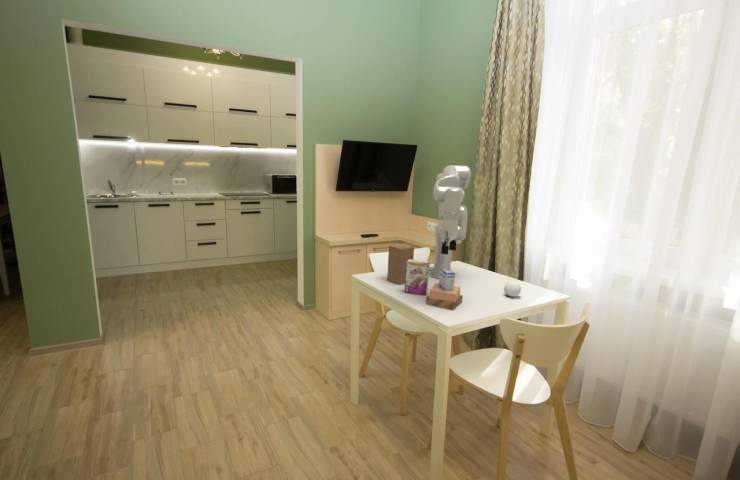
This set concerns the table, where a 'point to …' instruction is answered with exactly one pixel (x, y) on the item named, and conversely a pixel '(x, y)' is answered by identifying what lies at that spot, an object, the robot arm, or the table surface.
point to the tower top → (444, 293)
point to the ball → (512, 288)
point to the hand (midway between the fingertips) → (448, 252)
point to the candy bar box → (417, 277)
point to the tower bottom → (444, 303)
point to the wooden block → (398, 262)
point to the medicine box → (446, 279)
